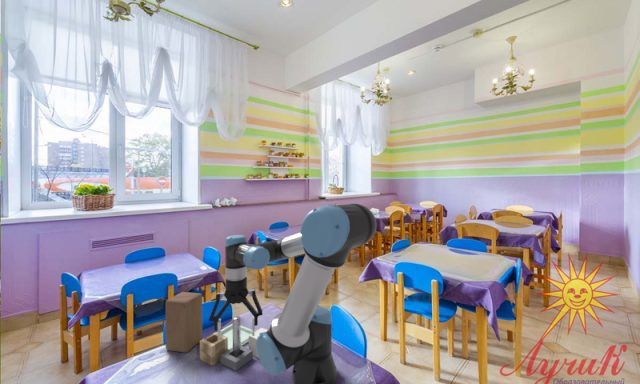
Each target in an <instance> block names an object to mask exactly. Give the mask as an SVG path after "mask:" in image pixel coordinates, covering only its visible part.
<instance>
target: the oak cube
mask: <svg viewBox="0 0 640 384" xmlns="http://www.w3.org/2000/svg"><path fill="white" fill-rule="evenodd" d="M217 332H218V331H215V332H213V333H212V334H210V335H208V336H205V338H202V340H200V342H199V360H200V361H202V362H204V363H206V364H208V365H210V366H214V365H216V364H217V363H219V362H221V355H222V354H223V353H225V352H226V351H228V337H226V336H224V335H221V338H220V340H218V333H217Z"/></svg>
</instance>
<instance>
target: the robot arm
mask: <svg viewBox="0 0 640 384" xmlns="http://www.w3.org/2000/svg"><path fill="white" fill-rule="evenodd" d="M376 219H377V218H376V216H375V215H374V213H373V211H372V210H370V209H369V207H367V206H365V205H363V204H360V203H347V204H339V205H338V204H336V205H335V204H334V205H333V204H326V205H323V206H319V207H316V208H313V209H312V210H310V211H309V212H308V213H307V214H306V215H305V217H304V218H303V219H302V222H301V225H300V231H299V232H297V233H294V234H291V235H288V236H286V237H283V238H280V239H277V240H276V239H275V240H271V241H266V242H260V243H256V244H255V243H254V244H251V243H248V240H247V239H248V238H247V236H246V235H244V234H233V235H229V236H227V237H226V238H225V246H224V251H225V252H224V253H225V255H224V256H225V258H224V260H225V272H224V273H225V291H224V292H220V291H217V292H216V297H215V298H216V300H215V303H214V305H213V308H212V310H211V313H210V315H209V319H208V321H209V322H214V325H213V326H214V331H215V332H218V340H220V338H221V330H222V322H221V321H222V319H221V317H222V316H223V314H224V313H225V312H226V310H227V308H228V307H229V306H230V304H232V305H235V304H243V305H244V306H245V307H246V308H247V310H248V311H249V312H250V313H251V315H252V316H251V317H252V318H251V319H252V321H251V322H252V325H251V327H252V328H251V329H252V336H255V331H256V330H255V327H257V326H258V324H259V320H258V319H259V316H263V309H262V307H261V305H260V301H259V299H258V297H257V295H256V289H255V288H252V289H248V277H247V276H248V271H247V270H248V269H251V270H263V269H264V268H266V266H268V264H271V263H274V262H279V261H283V260H288V259H291V258H292V257H296V256H300V255H304V258H303V260H302V262H301V265H300V267H299V269H298V272H297V274H296V277H295V278H294V279H295V280H294V282H293V285H292V287H291V289H290V292H289V294H288V297H287V299H286V301H285V303H284V307H283V309H282V311H281V312H280V313H278V314H276V316H275V317H273V319H272V322H271V324H270V325H269V329H267V330H268V331H267V332H263V333H262V334H261V335H259V336H258V338H257V342H256V347H257V353H258V356H259V358H258V359H259V361H260V363H261V366H262V367H263V368H264V369H265V371H266V372H267V373H268V374H270V375H272V376H279V375H280V374H283V373H285V372H286V371H287V370H288V369H290V368H291V367H292V370H291V372H292V373H291V377H292V382H293V384H335V383H336V381H337V377H338V374H337V373H338V371H337V366H336V362H335V359H334V357H333V353H332V348H333V347H332V346H333V345H332V343H333V342H332V341H333V340H332V331H333V328H332V325H333V321H332V313H331V311H330V310H329V309H328V308H327V307H326V306H325V307H324V306H321V305H319V304H320V302H321V300H322V298H323V296H324V294H325V292H326V289H327V287H328V286H329V283H330V281H331V279H332V277H333V275H334V273H335V270H336V269H340V268H342V267H343V266H344V265H345V264H346V261H347V259H348V257H349V256H350V255H349V254H350V253H351V251H352V249H354V248H355V249H356V248H359V247H361V246H364V245H366V244H367V243H369V242H370V241H372V239H373V237H374V236H375V234H376V231H377V220H376ZM248 295H249V296H250V297H252V300H253V303H254V305H255V308H256V309H255V308H254V306H253V305H252V304H251V303H250V301H249V299H248V298H247V296H248ZM223 297H224V298H225V300H226V301H225V302H224V303H223V305H222V307H221V308H220V310H219V311H218V313H217V314H216V311H217V309H218V306H219V304H220V301H221V300H222V299H223ZM215 314H216V315H215Z"/></svg>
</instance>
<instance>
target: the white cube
mask: <svg viewBox="0 0 640 384" xmlns="http://www.w3.org/2000/svg"><path fill="white" fill-rule="evenodd" d="M268 330H269V329H267V328H263V327H260V328H258V329H256V330H255V336H252V334H251V335H249V342H248V349H250V350H252V351H253V357H256V358H258V359H259V356H258V353H257V347H256V342H257V338H258V336H259V335H261V334H262V333H263V332H267V331H268Z"/></svg>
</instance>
